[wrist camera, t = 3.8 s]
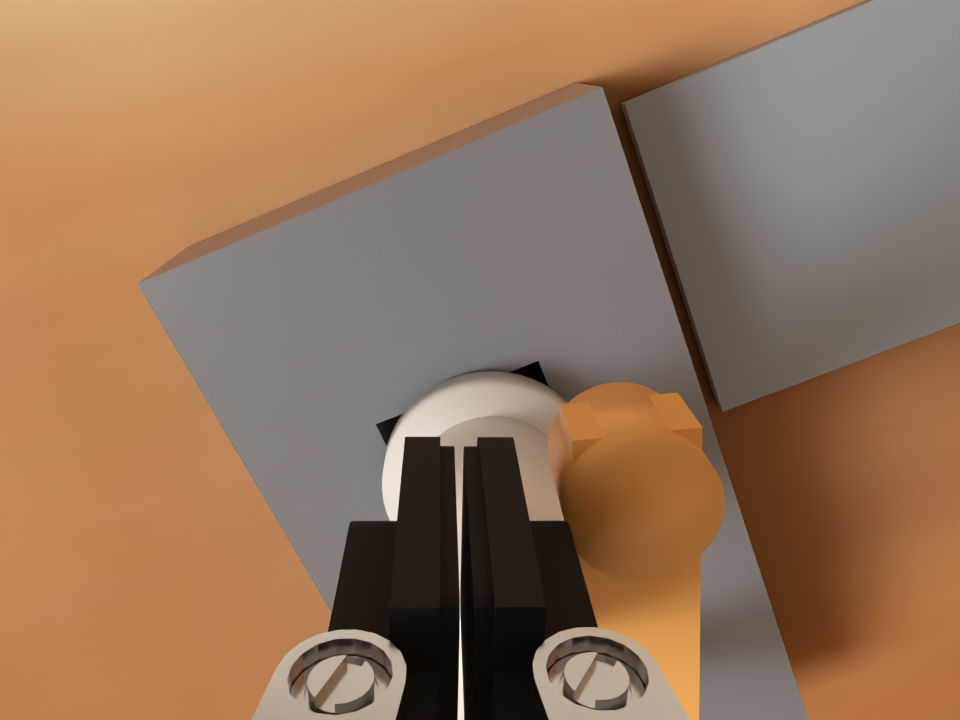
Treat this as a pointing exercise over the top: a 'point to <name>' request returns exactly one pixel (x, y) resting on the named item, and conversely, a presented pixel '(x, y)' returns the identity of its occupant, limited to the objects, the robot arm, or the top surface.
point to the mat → (812, 193)
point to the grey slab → (454, 338)
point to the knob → (482, 413)
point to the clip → (640, 518)
